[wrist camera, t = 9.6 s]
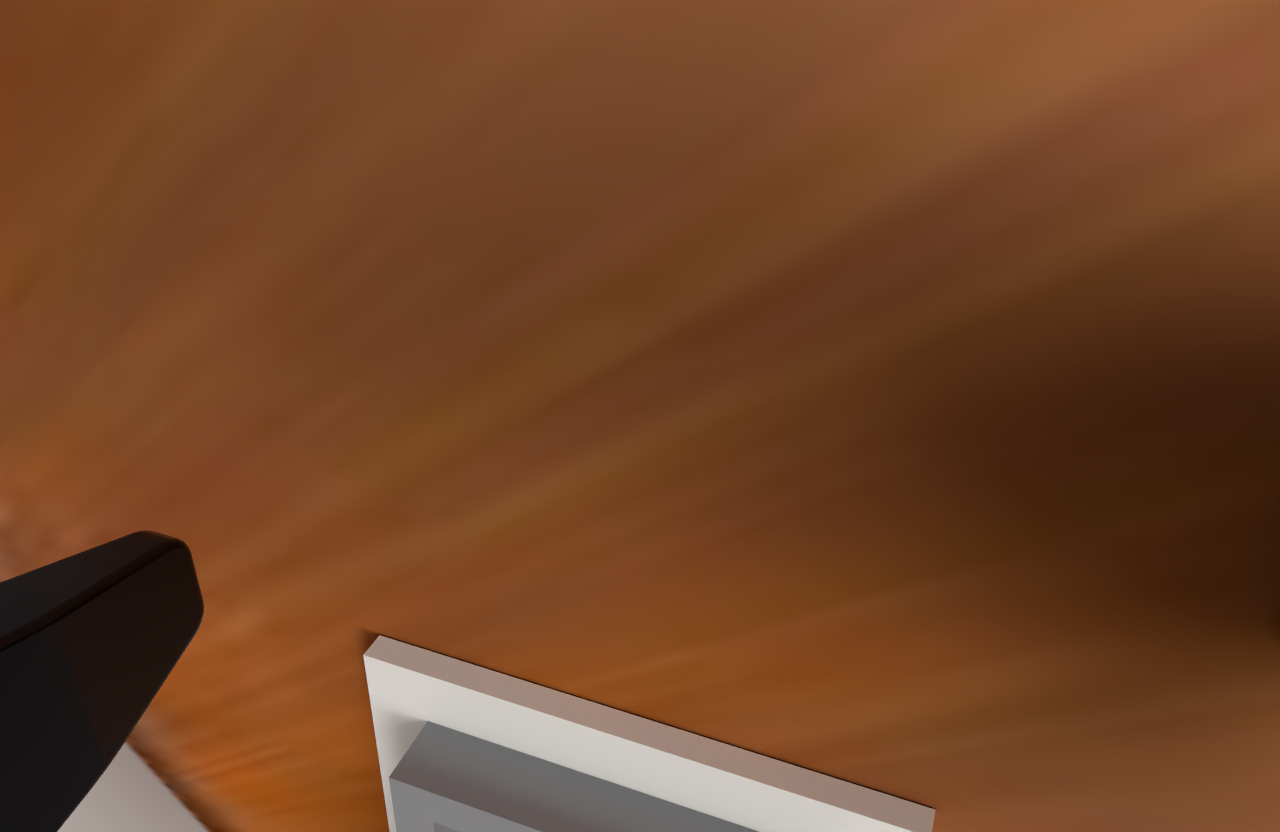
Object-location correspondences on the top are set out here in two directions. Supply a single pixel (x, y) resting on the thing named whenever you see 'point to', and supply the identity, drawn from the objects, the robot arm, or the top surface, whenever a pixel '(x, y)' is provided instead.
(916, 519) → the top surface
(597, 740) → the candle tray
